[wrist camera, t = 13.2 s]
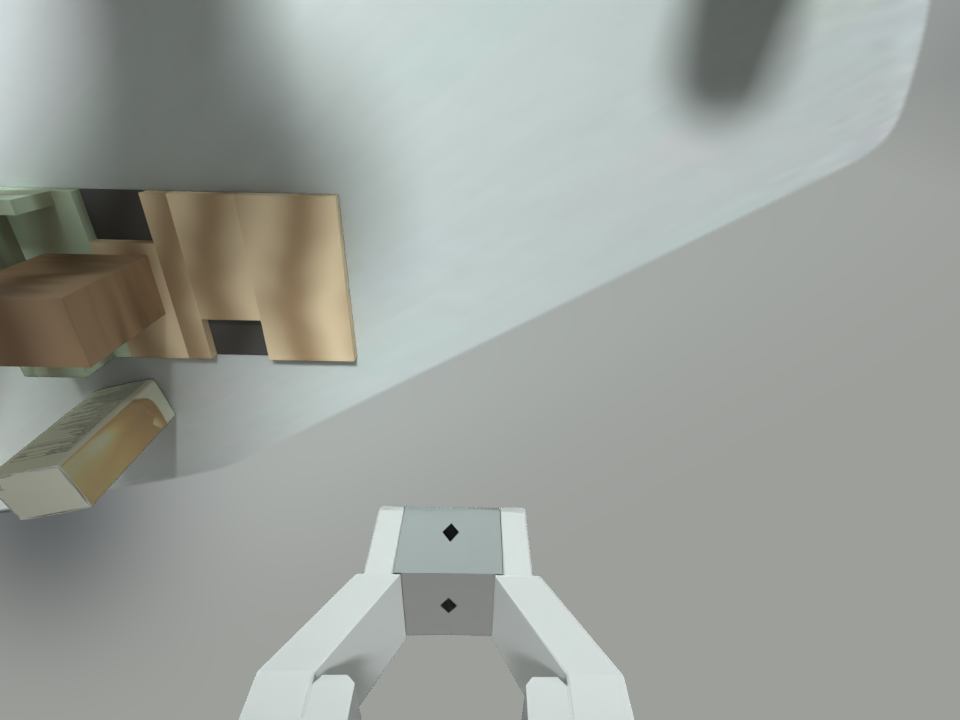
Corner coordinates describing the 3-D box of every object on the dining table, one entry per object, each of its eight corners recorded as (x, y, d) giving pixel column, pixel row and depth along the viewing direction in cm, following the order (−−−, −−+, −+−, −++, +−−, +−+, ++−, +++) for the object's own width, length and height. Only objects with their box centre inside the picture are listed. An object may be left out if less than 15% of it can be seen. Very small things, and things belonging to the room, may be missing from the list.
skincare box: (120, 425, 48) (16, 523, 37) (94, 389, 45) (-24, 481, 35) (180, 414, 47) (92, 510, 36) (156, 376, 45) (56, 466, 34)
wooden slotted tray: (338, 194, 37) (321, 207, 33) (357, 356, 44) (344, 382, 40) (-8, 186, 37) (-67, 198, 33) (66, 350, 43) (24, 376, 39)
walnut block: (147, 255, 38) (60, 298, 30) (165, 313, 41) (90, 367, 33) (44, 253, 38) (-69, 296, 30) (69, 311, 40) (-30, 365, 33)
